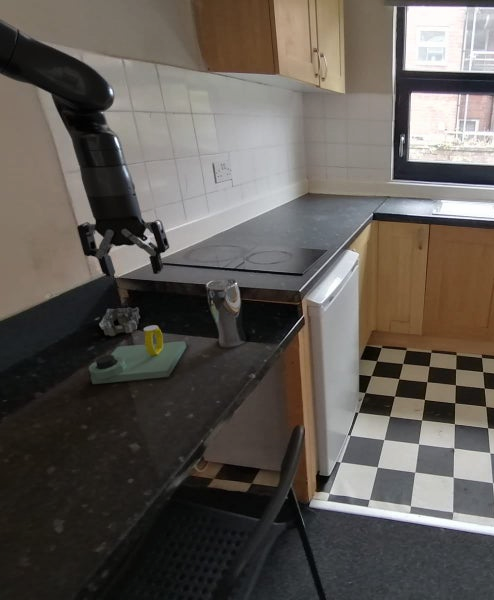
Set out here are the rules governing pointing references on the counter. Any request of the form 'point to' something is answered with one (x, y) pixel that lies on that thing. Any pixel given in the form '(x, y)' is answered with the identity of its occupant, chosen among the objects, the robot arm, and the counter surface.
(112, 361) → the power button
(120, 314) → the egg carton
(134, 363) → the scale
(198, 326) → the counter surface
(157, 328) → the watch
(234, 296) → the beer glass
